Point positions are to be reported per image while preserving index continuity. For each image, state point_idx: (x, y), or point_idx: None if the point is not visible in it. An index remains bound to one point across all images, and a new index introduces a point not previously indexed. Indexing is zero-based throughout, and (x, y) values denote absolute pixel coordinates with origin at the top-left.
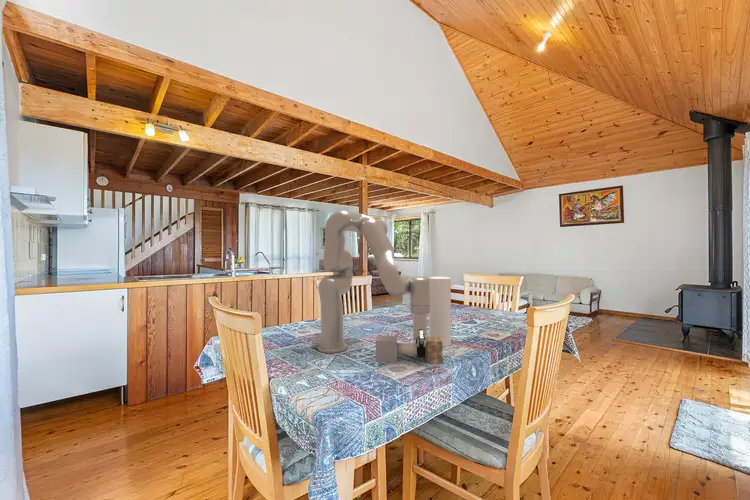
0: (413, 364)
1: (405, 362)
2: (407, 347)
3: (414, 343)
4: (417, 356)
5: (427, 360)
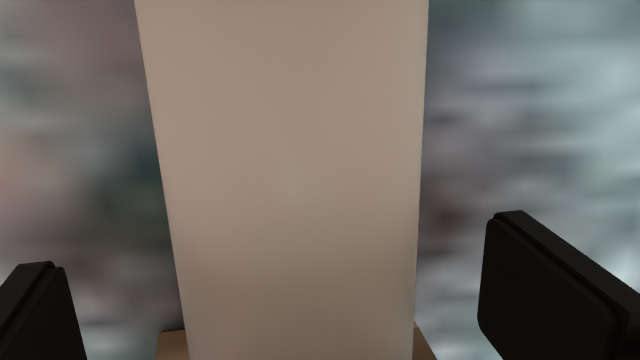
0: (34, 154)
1: (96, 17)
2: (156, 91)
3: (317, 297)
4: (18, 274)
5: (164, 349)
